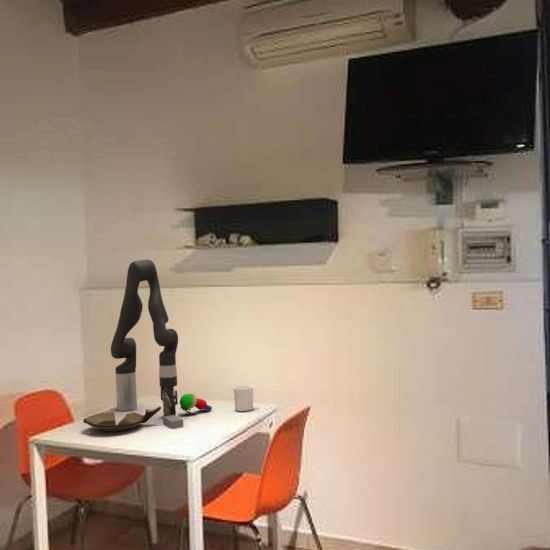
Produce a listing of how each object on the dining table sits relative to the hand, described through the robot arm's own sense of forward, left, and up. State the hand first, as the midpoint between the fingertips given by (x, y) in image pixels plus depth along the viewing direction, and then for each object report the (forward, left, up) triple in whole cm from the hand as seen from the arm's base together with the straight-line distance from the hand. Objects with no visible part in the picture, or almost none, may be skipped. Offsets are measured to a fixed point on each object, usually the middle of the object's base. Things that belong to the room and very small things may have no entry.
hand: (169, 412), depth 258 cm
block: (0, 0, -3) cm, 3 cm away
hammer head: (+12, -3, -3) cm, 13 cm away
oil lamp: (+4, -22, -3) cm, 23 cm away
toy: (-2, +13, -3) cm, 13 cm away
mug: (+6, +33, -3) cm, 34 cm away
